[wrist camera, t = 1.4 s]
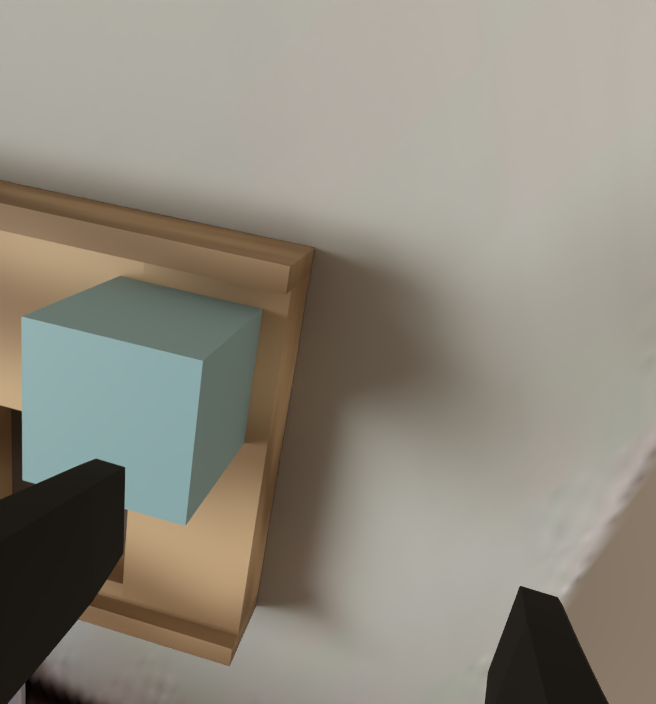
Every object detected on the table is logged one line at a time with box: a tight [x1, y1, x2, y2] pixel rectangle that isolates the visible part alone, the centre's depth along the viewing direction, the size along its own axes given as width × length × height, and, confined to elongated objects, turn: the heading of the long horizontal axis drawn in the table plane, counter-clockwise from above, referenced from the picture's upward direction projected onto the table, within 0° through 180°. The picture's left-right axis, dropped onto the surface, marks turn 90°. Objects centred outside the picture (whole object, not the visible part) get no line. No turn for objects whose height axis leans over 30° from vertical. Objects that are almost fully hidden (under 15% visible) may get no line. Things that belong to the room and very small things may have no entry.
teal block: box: [21, 276, 263, 526], centre depth 17 cm, size 4×4×4 cm
